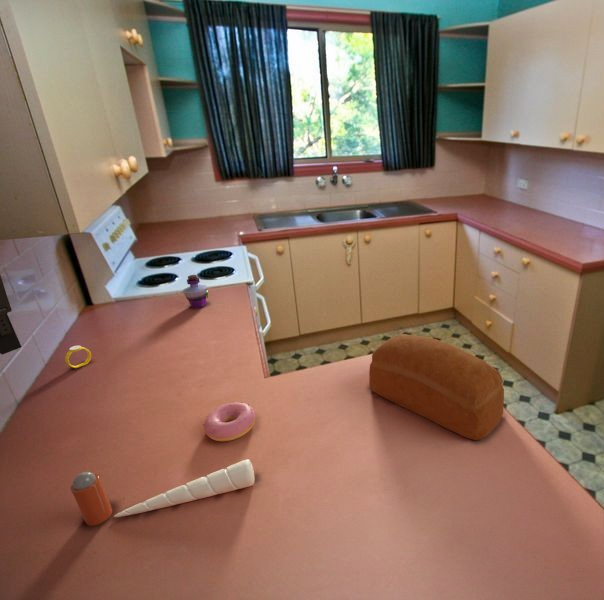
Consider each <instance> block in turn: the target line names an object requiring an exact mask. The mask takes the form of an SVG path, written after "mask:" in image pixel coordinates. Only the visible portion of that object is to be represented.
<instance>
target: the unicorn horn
mask: <svg viewBox="0 0 604 600" xmlns="http://www.w3.org/2000/svg"><path fill="white" fill-rule="evenodd" d="M254 471H255V470H254V467H253V463H252V462H251V460H250V459H243V460H241V461H238V462H236V463H233V464H231V465H229V466H226V468H221V469H218V470H216V471H214V472H211V473H208V474H207V475H206V476H201V477H199V478H196V479H194V480H190V481H188V482H186V483H185V484H181V485H179V486H177V487H176V486H175V487H174V488H172V489H169V490H166V491H165V492H162V493H159V494H157V495H155V496H153V497H150V498H148V499H146V500H144V501H143V502H142V501H141V502H139V503H137V504H135V505H132V506H130V507H127V508H126V509H124V510H122V511H119V512H118V513H116V514H114V515H113V518H121V517H126V516H132V515H137V514H142V513H145V512H150V511H154V510H159V509H162V508H163V509H164V508H167V507H172V506H176V505H179V504H185V503H188V502H192V501H197V500H201V499H204V498H209V497H213V496H216V495H221V494H224V493H228V492H232V491H237V490H240V489H245V488H248V487H251V486H253V485H254V484H255V481H256V480H255V472H254Z"/></svg>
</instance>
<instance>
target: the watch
mask: <svg viewBox="0 0 604 600" xmlns="http://www.w3.org/2000/svg"><path fill="white" fill-rule="evenodd" d="M81 350H84V351H85V352H86V355H87V356H86V359H85V361H84V362H82V363H79V364H76V365H72V364H71V362H70V360H69V359H70V357H71V355H72V354H73V353H76V352H79V351H81ZM91 359H92V353H91V351H90V349H88V348H87V347H84V346H82V345H80V344H79V345H74V346H71V347H69V350H68V351H67V353H66V354H65V357H64V362H65V364H66V365H67V366H68V367H70V368H73V369H78V368H81V367H84V366H86V365H88V364H89V362H90V361H91Z"/></svg>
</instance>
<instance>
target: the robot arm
mask: <svg viewBox="0 0 604 600" xmlns="http://www.w3.org/2000/svg"><path fill="white" fill-rule="evenodd" d="M11 312H13V311H12V307H11V304H10V300H9V297H8V293H7V291H6V288H5V284H4V281H3V278H2V275H1V274H0V355H5V354H8V353H10V352H13V351H16V350H18V349H21V348H22V344H21V342H20V340H19V338H18V335H17V333H16V331H15V329H14V326H13V323H12V322H11V319H10V317H9V314H8V313H11Z"/></svg>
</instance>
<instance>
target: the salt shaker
mask: <svg viewBox="0 0 604 600" xmlns="http://www.w3.org/2000/svg"><path fill="white" fill-rule="evenodd" d="M70 491H71V494H72V496H73V498H74V501H75V502H76V504H77V507H78V509H79V511H80V513H81V516H82V519H83V520H84V522H85V524H86V525H87V526H91V527H92V526H96V525H97V526H98V525H99V524H102V523H104V522H105V521H107V520H108V519H109V518H110V517H111V515H112V514H113V508H112V505H111V503H110V500H109V498H108V495H107V493H106V490H105V488H104V485H103V483H102V481H101V479H100V476H99V475H98V474H97V473H93V471H92V472H91V471H82V472H80V473H78V474H77V475H76V476H75V477H74V478H73V480H72V484H71V486H70Z"/></svg>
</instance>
